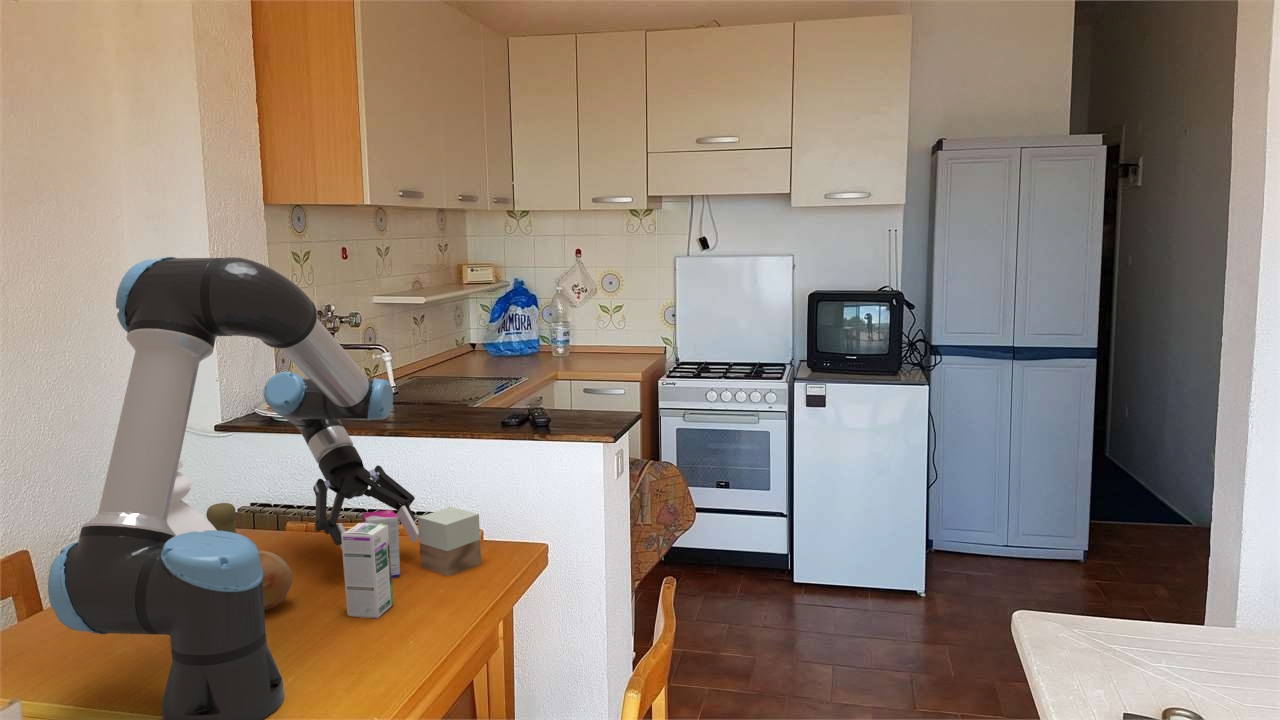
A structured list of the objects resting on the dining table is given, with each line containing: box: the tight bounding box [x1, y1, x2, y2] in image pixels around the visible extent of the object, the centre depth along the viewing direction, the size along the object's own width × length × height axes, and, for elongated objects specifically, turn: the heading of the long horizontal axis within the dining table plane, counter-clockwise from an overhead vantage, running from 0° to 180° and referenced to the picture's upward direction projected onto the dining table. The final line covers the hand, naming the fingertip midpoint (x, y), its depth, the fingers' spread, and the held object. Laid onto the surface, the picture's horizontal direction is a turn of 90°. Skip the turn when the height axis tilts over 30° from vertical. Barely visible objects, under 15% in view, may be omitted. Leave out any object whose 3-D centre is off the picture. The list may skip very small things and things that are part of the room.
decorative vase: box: [167, 459, 216, 536], centre depth 163 cm, size 18×18×25 cm
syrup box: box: [341, 522, 394, 619], centre depth 160 cm, size 6×6×14 cm
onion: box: [258, 550, 293, 611], centre depth 162 cm, size 10×10×10 cm
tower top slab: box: [417, 506, 481, 551], centre depth 181 cm, size 8×8×5 cm
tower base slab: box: [419, 539, 482, 577], centre depth 182 cm, size 8×8×5 cm
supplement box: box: [361, 509, 401, 579], centre depth 177 cm, size 6×6×12 cm
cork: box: [205, 502, 237, 533], centre depth 187 cm, size 6×6×11 cm
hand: (385, 547), depth 177 cm, fingers open, 13 cm apart
